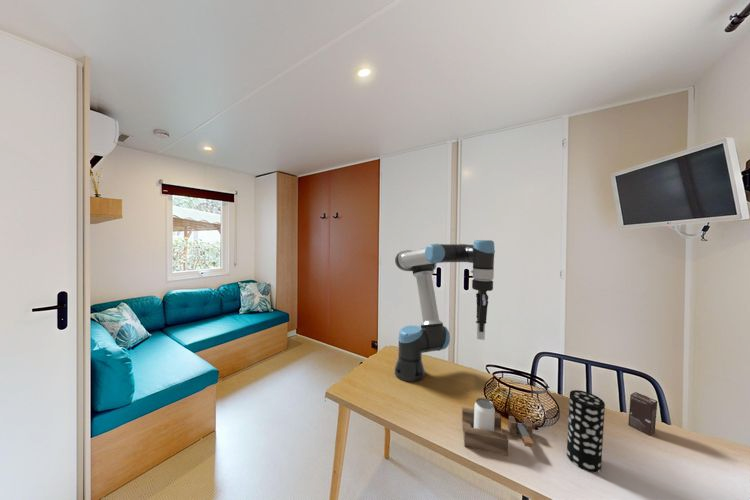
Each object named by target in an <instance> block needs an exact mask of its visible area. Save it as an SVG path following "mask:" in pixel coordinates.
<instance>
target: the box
mask: <svg viewBox="0 0 750 500" xmlns="http://www.w3.org/2000/svg"><path fill="white" fill-rule="evenodd" d="M629 399H630V400H629V411H628V412H629V413H628V422H627V423H628V424H627V425H628V426H630V427H632V428H634V429H636V430H639V431H641V432H642V433H644V434H646V435H647V436H649V437H651V436H652V435H653V434H654V433H656V421H657V410H658V400H656V399H653V398H652V397H649V396H647V395H644V394H641V393H639V392H637V391H635V392H632V393H631V394H630V397H629Z"/></svg>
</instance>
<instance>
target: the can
mask: <svg viewBox="0 0 750 500" xmlns="http://www.w3.org/2000/svg"><path fill="white" fill-rule="evenodd" d="M494 406H495V405H494V403H493V402H492V401H491V400H490V399H487V398H484V397H478V398H477V399H476V400H475V403H474V408H473V409H474V427H473V428H476V429H481V430H486V431H491V432H494V419H495V413H496V411H495V407H494Z"/></svg>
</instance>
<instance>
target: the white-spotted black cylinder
mask: <svg viewBox="0 0 750 500" xmlns="http://www.w3.org/2000/svg"><path fill="white" fill-rule="evenodd" d="M568 402H569V403H568V419H567V420H568V423H567V424H568V425H567V440H566V441H567V443H566V456H567V458H568V459H569V460H570V462H571V463H572V464H574V465H575V466H577V467H578V468H580V469H581V470H584V471H585V472H588V473H589V472H590V473H594V472H596V473H599V472H598V471H600V470H602V461H603V459H602V458H603V457H602V456H603V442H604V440H603V439H604V428H605V427H604V426H605V410H606V408H605V407H606V403H605V401H604V400H603V399H601V398H600V397H599V396H597V395H595V394H592V393H590V392H588V391H583V390H577V389H575V390H570V392H569V401H568ZM600 472H601V471H600Z"/></svg>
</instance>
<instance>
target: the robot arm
mask: <svg viewBox="0 0 750 500" xmlns="http://www.w3.org/2000/svg"><path fill="white" fill-rule="evenodd" d="M495 251H496V250H495V241H494V240H490V239H489V240H487V239H486V240H485V239H476V240H475V239H474V241H473V243H472V244H464V243H463V244H462V243H460V244H457V243H456V244H455V243H454V244H453V243H450V244H442V243H432V244H428V245H427V247H424V248H419V249H418V248H417V249H413V250H408V249H407V250H402V251H399V252H398V253H397V254H396V256H395V258H394V262H395V263H394V264H395V265H396V266H397V268H398V269H399V270H402V271H404V272H412V276H414V278H415V279H416V285H417V290H418V291H417V293H418V299H419V304H420V311H421V318H422V322H421V324H420V325H412V324H410V325H406V326H403V327H401V328H400V330H399V331H398V353H397V354H398V357H397V361H396V364H395V366H394V375H395V377H396V378H398V379H399V380H402V381H404V382H410V383H412V382H413V383H414V382H419V381H422V380H423V379H424V378H425V373H426V372H425V371H426V370H425V368H424V364H423V361H422V358H423V357H422V355H423V353H431V352H437V351H438V352H439V351H442V350H446V349H447V348H448V346H449V345H450V341H451V336H450V331H449V329H448V328H447V326H445V325H444V324H443V322H442V321H441V320H440V317H439V310H438V306H437V300H436V299H437V298H436V293H435V289H434V288H435V287H434V283H433V277H432V276H433V274H434V272H435V271H434V270H436V268H437V264H440V263H469V264H470V263H471V264H472V270H471V271H470V273H471V274H472V278H473V279H472V281H471V284H472V285H471V288H472V290H475V291H477V293H475V296H476V321H475V323H476V339H477V340H481V341H485V340H486V339H485V335H486V324H487V315H488V304H489V301H488V300H489V295H488V294H487V292H492V291H493V290H494V281H493V280H494V278H495V277H494V273H495V272H494V271H495V269H494V268H495V267H494V265H495Z"/></svg>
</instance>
